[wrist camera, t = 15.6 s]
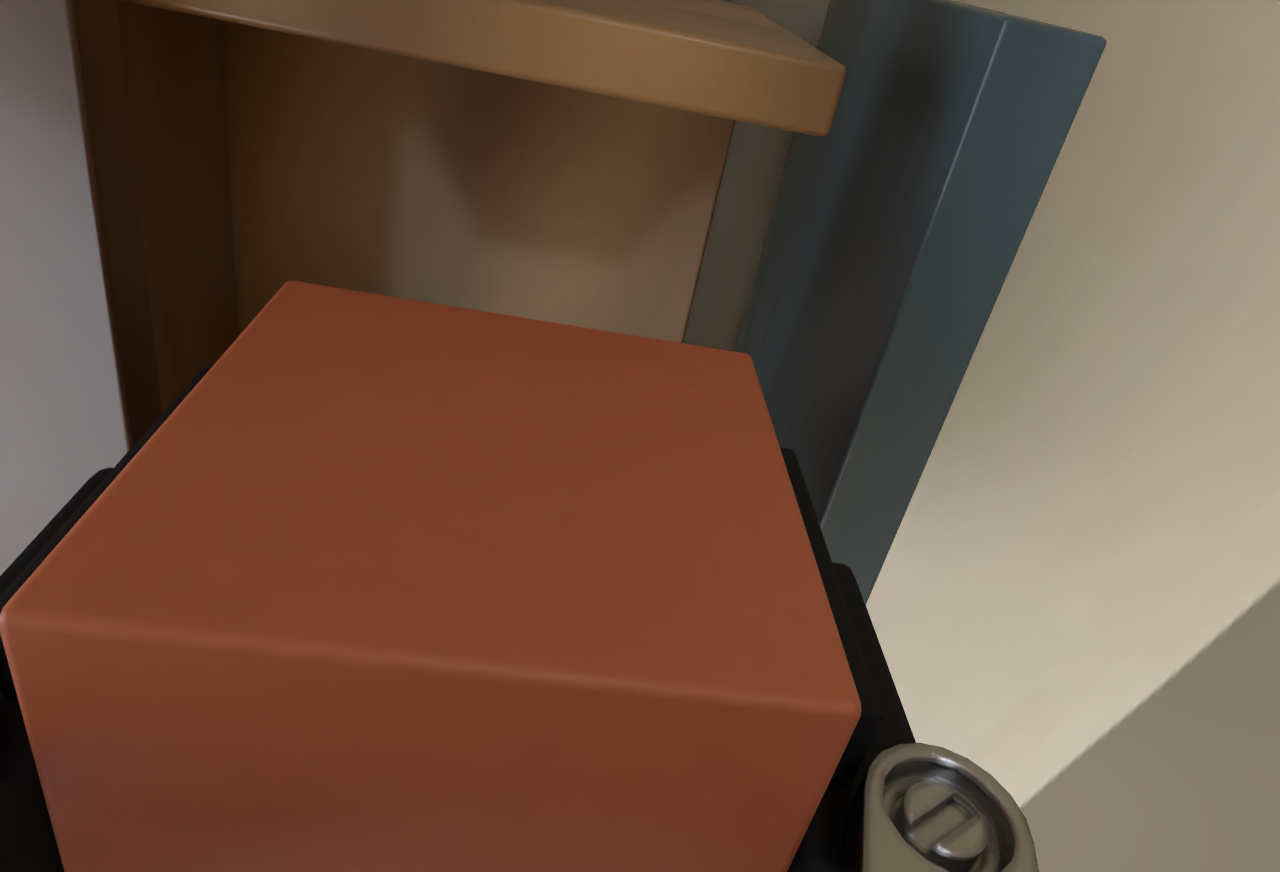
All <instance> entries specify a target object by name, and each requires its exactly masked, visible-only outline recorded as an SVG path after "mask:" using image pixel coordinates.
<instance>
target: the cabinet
mask: <svg viewBox="0 0 1280 872" xmlns="http://www.w3.org/2000/svg"><path fill="white" fill-rule="evenodd" d="M161 414H162V405H161V396H160V387H159V378H158V369H157V360H156V351H155V342H154V333H153V324H152V314H151V305H150V296H149V287H148V278H147V269H146V260H145V251H144V242H143V233H142V224H141V215H140V206H139V197H138V188H137V179H136V170H135V161H134V152H133V143H132V134H131V125H130V116H129V107H128V98H127V89H126V80H125V71H124V62H123V53H122V44H121V35H120V26H119V17H118V8H117V0H0V576H1V575H2V574H3V572H4V571H5V570H6V569H7V568H8V567H9V566H10V565H11V564H12V563H13V562H14V560H15V559H16V558H17V557H18V556H19V555H20V554H21V553H22V552H23V551H24V550H25V548H26V547H27V546H28V545H29V544H30V543H31V542H32V541H33V540H34V539H35V538H36V536H37V535H38V534H39V533H40V532H41V531H42V530H43V529H44V528H45V527H46V525H47V524H48V523H49V522H50V521H51V520H52V519H53V518H54V517H55V516H56V515H57V513H58V512H59V511H60V510H61V509H62V508H63V507H64V506H65V505H66V504H67V503H68V501H69V500H70V499H71V498H72V497H73V496H74V495H75V494H76V493H77V492H78V490H79V489H80V488H81V487H82V486H83V485H84V484H85V483H86V482H87V481H88V480H89V478H91V477H92V476H93V475H94V474H95V473H97V472H98V471H99V470H101V469H105V468H109V467H111V468H114V467H115V466H116V465H117V464H118V463H119V461H120V460H121V459H122V458H123V457H124V456H125V455H126V454H127V452H128V451H129V450H130V449H131V448H132V447H133V446H134V445H135V443H136V442H137V441H138V440H139V439H140V438H141V437H142V436H143V434H144V433H145V432H146V431H147V430H148V429H149V428H150V427H151V425H152V424H153V423H154V422H155V421H156V420H157V419H158V417H159V416H160V415H161Z"/></svg>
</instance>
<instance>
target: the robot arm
mask: <svg viewBox="0 0 1280 872" xmlns="http://www.w3.org/2000/svg"><path fill="white" fill-rule="evenodd" d="M213 365H214V364H207V365H206V366H204V367H203V368H202V369H201V370H200V371H199V372H198V374H197V375H196V376H195V377H194V378H193V379H192V380H191V381H190V383H189V384H188V385H187V386H186V387H185V388H184V389H183V390H182V392H181V393H180V394H179V395H178V396H177V397H176V398H175V399H174V401H173V402H172V403H171V404H170V405H169V406H168V407H167V408H166V410H165V411H164V412H163V413H162V414H161V415H160V416H159V417H158V419H157V420H156V421H155V422H154V423H153V424H152V425H151V427H150V428H149V429H148V430H147V431H146V432H145V433H144V434H143V436H142V437H141V438H140V439H139V440H138V441H137V442H136V443H135V445H134V446H133V447H132V448H131V449H130V450H129V451H128V452H127V454H126V455H125V456H124V457H123V458H122V459H121V460H120V461H119V463H118V464H117V465H116V466H115V467H114V468H111V467H109V468H105V469H101V470H99V471H98V472H97V473H95V474H94V475H93V476H92V477H91V478H89V480H88V481H87V482H86V483H85V484H84V485H83V486H82V487H81V488H80V489H79V490H78V492H77V493H76V494H75V495H74V496H73V497H72V498H71V499H70V500H69V501H68V503H67V504H66V505H65V506H64V507H63V508H62V509H61V510H60V511H59V512H58V513H57V515H56V516H55V517H54V518H53V519H52V520H51V521H50V522H49V523H48V524H47V525H46V527H45V528H44V529H43V530H42V531H41V532H40V533H39V534H38V535H37V536H36V538H35V539H34V540H33V541H32V542H31V543H30V544H29V545H28V546H27V547H26V548H25V550H24V551H23V552H22V553H21V554H20V555H19V556H18V557H17V558H16V559H15V560H14V562H13V563H12V564H11V565H10V566H9V567H8V568H7V569H6V570H5V571H4V572H3V574H2V575H1V576H0V614H1V611H2V608H3V607H4V606H5V604H6V603H7V602H8V601H9V600H10V599H11V598H12V596H13V595H14V594H15V593H16V592H17V591H18V589H19V588H20V587H21V586H22V585H23V584H24V583H25V581H26V580H27V579H28V578H29V577H30V576H31V575H32V573H33V572H34V571H35V570H36V569H37V568H38V566H39V565H40V564H41V563H42V562H43V561H44V560H45V558H46V557H47V556H48V555H49V554H50V553H51V552H52V550H53V549H54V548H55V547H56V546H57V545H58V544H59V542H60V541H61V540H62V539H63V538H64V537H65V535H66V534H67V533H68V532H69V531H70V530H71V529H72V527H73V526H74V525H75V524H76V523H77V522H78V521H79V519H80V518H81V517H82V516H83V515H84V514H85V512H86V511H87V510H88V509H89V508H90V507H91V506H92V504H93V503H94V502H95V501H96V500H97V499H98V498H99V496H100V495H101V494H102V493H103V492H104V491H105V489H106V488H107V487H108V486H109V485H110V484H111V483H112V481H113V480H114V479H115V478H116V477H117V476H118V475H119V473H120V472H121V471H122V470H123V469H124V468H125V466H126V465H127V464H128V463H129V462H130V461H131V460H132V458H133V457H134V456H135V455H136V454H137V453H138V452H139V450H140V449H141V448H142V447H143V446H144V445H145V443H146V442H147V441H148V440H149V439H150V438H151V437H152V435H153V434H154V433H155V432H156V431H157V430H158V429H159V427H160V426H161V425H162V424H163V423H164V422H165V420H166V419H167V418H168V417H169V416H170V415H171V414H172V412H173V411H174V410H175V409H176V408H177V407H178V406H179V404H180V403H181V402H182V401H183V400H184V399H185V397H186V396H187V395H188V394H189V393H190V392H191V391H192V389H193V388H194V387H195V386H196V385H197V384H198V383H199V381H200V380H201V379H202V378H203V377H204V376H205V375H206V373H207V372H208V371H209V370H210V369H211V368H212V366H213ZM780 450H781V453H782V456H783V459H784V462H785V465H786V468H787V472H788V475H789V478H790V481H791V484H792V487H793V491H794V494H795V497H796V500H797V503H798V506H799V509H800V513H801V516H802V519H803V522H804V525H805V528H806V532H807V535H808V538H809V541H810V544H811V547H812V550H813V554H814V557H815V560H816V563H817V566H818V569H819V573H820V576H821V579H822V582H823V585H824V588H825V591H826V595H827V598H828V601H829V604H830V607H831V610H832V614H833V617H834V620H835V623H836V626H837V629H838V632H839V636H840V639H841V642H842V645H843V648H844V651H845V655H846V658H847V661H848V664H849V667H850V670H851V673H852V677H853V680H854V683H855V686H856V689H857V692H858V696H859V699H860V702H861V715H860V719H859V721H858V723H857V725H856V727H855V729H854V731H853V733H852V736H851V738H850V740H849V742H848V744H847V746H846V748H845V750H844V752H843V755H842V757H841V759H840V761H839V763H838V765H837V767H836V769H835V772H834V774H833V776H832V778H831V780H830V782H829V784H828V786H827V788H826V791H825V793H824V795H823V797H822V799H821V801H820V803H819V805H818V808H817V810H816V812H815V814H814V816H813V818H812V820H811V822H810V824H809V827H808V829H807V831H806V833H805V835H804V837H803V839H802V841H801V844H800V846H799V848H798V850H797V852H796V854H795V856H794V858H793V860H792V863H791V865H790V867H789V869H788V871H787V872H1039V870H1038V864H1037V858H1036V852H1035V847H1034V841H1033V838H1032V836H1031V832H1030V829H1029V826H1028V824H1027V820H1026V818H1025V816H1024V815H1023V813H1022V812H1021V810H1020V809H1019V807H1018V805H1017V804H1016V802H1015V801H1014V799H1013V798H1012V796H1011V795H1010V794H1009V793H1008V792H1007V791H1006V790H1005V789H1004V788H1003V787H1002V786H1001V785H1000V784H999V782H998V781H997V780H996V779H995V778H994V777H993V776H992V775H991V774H989V773H988V772H986V771H985V770H983V769H982V768H981V767H979V766H978V765H976V764H975V763H973V762H972V761H971V760H969V759H968V758H965V757H963V756H961V755H959V754H956V753H954V752H952V751H950V750H947V749H945V748H942V747H937V746H933V745H928V744H923V743H916V742H915V739H914V737H913V734H912V731H911V728H910V726H909V723H908V720H907V717H906V715H905V712H904V709H903V706H902V704H901V701H900V698H899V696H898V693H897V690H896V687H895V685H894V682H893V679H892V676H891V674H890V671H889V668H888V666H887V663H886V660H885V657H884V655H883V652H882V649H881V646H880V644H879V641H878V638H877V635H876V633H875V630H874V627H873V625H872V622H871V619H870V616H869V614H868V611H867V608H866V605H865V603H864V600H863V597H862V595H861V592H860V589H859V586H858V584H857V581H856V578H855V576H854V574H853V572H852V570H851V569H850V567H848V566H847V565H845V564H841V563H834V562H832V560H831V557H830V554H829V551H828V548H827V545H826V542H825V540H824V537H823V534H822V531H821V528H820V525H819V522H818V519H817V516H816V513H815V510H814V507H813V504H812V501H811V498H810V495H809V492H808V489H807V486H806V484H805V481H804V478H803V475H802V472H801V469H800V466H799V463H798V460H797V457H796V454H795V452H794V451H793V450H792V449H787V448H780ZM0 872H64V868H63V864H62V861H61V857H60V853H59V849H58V846H57V842H56V838H55V835H54V831H53V827H52V823H51V820H50V816H49V812H48V809H47V805H46V801H45V797H44V794H43V790H42V786H41V783H40V779H39V775H38V771H37V768H36V764H35V760H34V757H33V753H32V749H31V745H30V742H29V738H28V734H27V731H26V727H25V723H24V719H23V716H22V712H21V708H20V705H19V701H18V697H17V693H16V690H15V686H14V682H13V679H12V675H11V671H10V667H9V664H8V660H7V656H6V653H5V649H4V645H3V641H2V638H1V634H0Z"/></svg>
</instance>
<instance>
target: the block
mask: <svg viewBox="0 0 1280 872" xmlns="http://www.w3.org/2000/svg"><path fill="white" fill-rule="evenodd" d="M0 634H1V638H2V641H3V645H4V649H5V653H6V656H7V660H8V664H9V667H10V671H11V675H12V679H13V682H14V686H15V690H16V693H17V697H18V701H19V705H20V708H21V712H22V716H23V719H24V723H25V727H26V731H27V734H28V738H29V742H30V745H31V749H32V753H33V757H34V760H35V764H36V768H37V771H38V775H39V779H40V783H41V786H42V790H43V794H44V797H45V801H46V805H47V809H48V812H49V816H50V820H51V823H52V827H53V831H54V835H55V838H56V842H57V846H58V849H59V853H60V857H61V861H62V864H63V868H64V872H787V871H788V869H789V867H790V865H791V863H792V860H793V858H794V856H795V854H796V852H797V850H798V848H799V846H800V844H801V841H802V839H803V837H804V835H805V833H806V831H807V829H808V827H809V824H810V822H811V820H812V818H813V816H814V814H815V812H816V810H817V808H818V805H819V803H820V801H821V799H822V797H823V795H824V793H825V791H826V788H827V786H828V784H829V782H830V780H831V778H832V776H833V774H834V772H835V769H836V767H837V765H838V763H839V761H840V759H841V757H842V755H843V752H844V750H845V748H846V746H847V744H848V742H849V740H850V738H851V736H852V733H853V731H854V729H855V727H856V725H857V723H858V721H859V719H860V715H861V702H860V699H859V696H858V692H857V689H856V686H855V683H854V680H853V677H852V673H851V670H850V667H849V664H848V661H847V658H846V655H845V651H844V648H843V645H842V642H841V639H840V636H839V632H838V629H837V626H836V623H835V620H834V617H833V614H832V610H831V607H830V604H829V601H828V598H827V595H826V591H825V588H824V585H823V582H822V579H821V576H820V573H819V569H818V566H817V563H816V560H815V557H814V554H813V550H812V547H811V544H810V541H809V538H808V535H807V532H806V528H805V525H804V522H803V519H802V516H801V513H800V509H799V506H798V503H797V500H796V497H795V494H794V491H793V487H792V484H791V481H790V478H789V475H788V472H787V468H786V465H785V462H784V459H783V456H782V453H781V450H780V446H779V443H778V440H777V437H776V434H775V431H774V428H773V424H772V421H771V418H770V415H769V412H768V409H767V405H766V402H765V399H764V396H763V393H762V390H761V387H760V383H759V380H758V377H757V374H756V371H755V368H754V364H753V361H752V358H751V356H749V355H748V354H746V353H741V352H735V351H729V350H722V349H716V348H710V347H704V346H697V345H691V344H685V343H679V342H672V341H666V340H660V339H654V338H648V337H641V336H635V335H629V334H623V333H616V332H610V331H604V330H598V329H591V328H585V327H579V326H573V325H567V324H560V323H554V322H548V321H542V320H535V319H529V318H523V317H517V316H511V315H504V314H498V313H492V312H486V311H479V310H473V309H467V308H461V307H454V306H448V305H442V304H436V303H430V302H423V301H417V300H411V299H405V298H398V297H392V296H386V295H380V294H373V293H367V292H361V291H355V290H349V289H342V288H336V287H330V286H324V285H317V284H311V283H305V282H299V281H288V282H286V283H285V284H284V285H283V286H282V287H281V288H280V289H279V291H278V292H277V293H276V294H275V295H274V296H273V297H272V299H271V300H270V301H269V302H268V303H267V304H266V306H265V307H264V308H263V309H262V310H261V311H260V312H259V314H258V315H257V316H256V317H255V318H254V319H253V320H252V322H251V323H250V324H249V325H248V326H247V327H246V329H245V330H244V331H243V332H242V333H241V334H240V335H239V337H238V338H237V339H236V340H235V341H234V342H233V343H232V345H231V346H230V347H229V348H228V349H227V350H226V352H225V353H224V354H223V355H222V356H221V357H220V358H219V360H218V361H217V362H216V363H215V364H214V365H213V366H212V368H211V369H210V370H209V371H208V372H207V373H206V375H205V376H204V377H203V378H202V379H201V380H200V381H199V383H198V384H197V385H196V386H195V387H194V388H193V389H192V391H191V392H190V393H189V394H188V395H187V396H186V397H185V399H184V400H183V401H182V402H181V403H180V404H179V406H178V407H177V408H176V409H175V410H174V411H173V412H172V414H171V415H170V416H169V417H168V418H167V419H166V420H165V422H164V423H163V424H162V425H161V426H160V427H159V429H158V430H157V431H156V432H155V433H154V434H153V435H152V437H151V438H150V439H149V440H148V441H147V442H146V443H145V445H144V446H143V447H142V448H141V449H140V450H139V452H138V453H137V454H136V455H135V456H134V457H133V458H132V460H131V461H130V462H129V463H128V464H127V465H126V466H125V468H124V469H123V470H122V471H121V472H120V473H119V475H118V476H117V477H116V478H115V479H114V480H113V481H112V483H111V484H110V485H109V486H108V487H107V488H106V489H105V491H104V492H103V493H102V494H101V495H100V496H99V498H98V499H97V500H96V501H95V502H94V503H93V504H92V506H91V507H90V508H89V509H88V510H87V511H86V512H85V514H84V515H83V516H82V517H81V518H80V519H79V521H78V522H77V523H76V524H75V525H74V526H73V527H72V529H71V530H70V531H69V532H68V533H67V534H66V535H65V537H64V538H63V539H62V540H61V541H60V542H59V544H58V545H57V546H56V547H55V548H54V549H53V550H52V552H51V553H50V554H49V555H48V556H47V557H46V558H45V560H44V561H43V562H42V563H41V564H40V565H39V566H38V568H37V569H36V570H35V571H34V572H33V573H32V575H31V576H30V577H29V578H28V579H27V580H26V581H25V583H24V584H23V585H22V586H21V587H20V588H19V589H18V591H17V592H16V593H15V594H14V595H13V596H12V598H11V599H10V600H9V601H8V602H7V603H6V604H5V606H4V607H3V608H2V611H1V614H0Z"/></svg>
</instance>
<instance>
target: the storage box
mask: <svg viewBox="0 0 1280 872" xmlns="http://www.w3.org/2000/svg"><path fill="white" fill-rule="evenodd" d="M117 8H118V17H119V26H120V35H121V44H122V53H123V62H124V71H125V80H126V89H127V98H128V107H129V116H130V125H131V134H132V143H133V152H134V161H135V170H136V179H137V188H138V197H139V206H140V215H141V224H142V233H143V242H144V251H145V260H146V269H147V278H148V287H149V296H150V305H151V314H152V324H153V333H154V342H155V351H156V360H157V369H158V378H159V387H160V396H161V405H162V413H163V412H164V411H165V410H166V408H167V407H168V406H169V405H170V404H171V403H172V402H173V401H174V399H175V398H176V397H177V396H178V395H179V394H180V393H181V392H182V390H183V389H184V388H185V387H186V386H187V385H188V384H189V383H190V381H191V380H192V379H193V378H194V377H195V376H196V375H197V374H198V372H199V371H200V370H201V369H202V368H203V367H204V366H206V365H207V364H215V363H216V362H217V361H218V360H219V358H220V357H221V356H222V355H223V354H224V353H225V352H226V350H227V349H228V348H229V347H230V346H231V345H232V343H233V342H234V341H235V340H236V339H237V338H238V337H239V335H240V334H241V333H242V332H243V331H244V330H245V329H246V327H247V326H248V325H249V324H250V323H251V322H252V320H253V319H254V318H255V317H256V316H257V315H258V314H259V312H260V311H261V310H262V309H263V308H264V307H265V306H266V304H267V303H268V302H269V301H270V300H271V299H272V297H273V296H274V295H275V294H276V293H277V292H278V291H279V289H280V288H281V287H282V286H283V285H284V284H285V283H286V282H288V281H299V282H305V283H311V284H317V285H324V286H330V287H336V288H342V289H349V290H355V291H361V292H367V293H373V294H380V295H386V296H392V297H398V298H405V299H411V300H417V301H423V302H430V303H436V304H442V305H448V306H454V307H461V308H467V309H473V310H479V311H486V312H492V313H498V314H504V315H511V316H517V317H523V318H529V319H535V320H542V321H548V322H554V323H560V324H567V325H573V326H579V327H585V328H591V329H598V330H604V331H610V332H616V333H623V334H629V335H635V336H641V337H648V338H654V339H660V340H666V341H672V342H679V343H683V341H684V337H685V333H686V329H687V324H688V320H689V316H690V312H691V307H692V303H693V299H694V295H695V290H696V286H697V282H698V278H699V273H700V269H701V265H702V261H703V256H704V252H705V248H706V244H707V239H708V235H709V231H710V227H711V222H712V218H713V214H714V210H715V205H716V201H717V197H718V193H719V188H720V184H721V180H722V176H723V171H724V167H725V163H726V159H727V154H728V150H729V146H730V142H731V137H732V133H733V129H734V125H735V121H740V122H745V123H750V124H755V125H761V126H766V127H771V128H776V129H781V130H786V131H791V132H795V133H794V137H793V141H792V144H791V148H790V152H789V155H788V159H787V163H786V166H785V170H784V174H783V177H782V181H781V185H780V188H779V192H778V196H777V200H776V203H775V207H774V211H773V214H772V218H771V222H770V225H769V229H768V233H767V236H766V240H765V244H764V247H763V251H762V255H761V259H760V262H759V266H758V270H757V273H756V277H755V281H754V284H753V288H752V292H751V295H750V299H749V303H748V306H747V310H746V314H745V318H744V321H743V325H742V329H741V332H740V336H739V340H738V343H737V347H736V351H735V352H741V353H746V354H748V355H749V356H751V358H752V361H753V364H754V368H755V371H756V374H757V377H758V380H759V383H760V387H761V390H762V393H763V396H764V399H765V402H766V405H767V409H768V412H769V415H770V418H771V421H772V424H773V428H774V431H775V434H776V437H777V440H778V443H779V446H780V448H787V449H792V450H793V451H794V452H795V454H796V457H797V460H798V463H799V466H800V469H801V472H802V475H803V478H804V481H805V484H806V486H807V489H808V492H809V495H810V498H811V501H812V504H813V507H814V510H815V513H816V516H817V519H818V522H819V525H820V528H821V531H822V534H823V537H824V540H825V542H826V545H827V548H828V551H829V554H830V557H831V560H832V562H834V563H841V564H845V565H847V566H848V567H850V569H851V570H852V572H853V574H854V576H855V578H856V581H857V584H858V586H859V589H860V592H861V595H862V597H863V600H864V603H865V605H866V603H867V600H868V598H869V596H870V593H871V591H872V589H873V586H874V584H875V582H876V579H877V577H878V575H879V572H880V570H881V568H882V565H883V563H884V561H885V558H886V556H887V554H888V551H889V549H890V547H891V544H892V542H893V540H894V537H895V535H896V533H897V530H898V528H899V526H900V523H901V521H902V519H903V516H904V514H905V512H906V509H907V507H908V505H909V502H910V500H911V498H912V495H913V493H914V491H915V488H916V486H917V484H918V481H919V479H920V477H921V474H922V472H923V470H924V467H925V465H926V463H927V461H928V458H929V456H930V454H931V451H932V449H933V447H934V444H935V442H936V440H937V437H938V435H939V433H940V430H941V428H942V426H943V423H944V421H945V419H946V416H947V414H948V412H949V409H950V407H951V405H952V402H953V400H954V398H955V395H956V393H957V391H958V388H959V386H960V384H961V381H962V379H963V377H964V374H965V372H966V370H967V367H968V365H969V363H970V360H971V358H972V356H973V353H974V351H975V349H976V346H977V344H978V342H979V339H980V337H981V335H982V332H983V330H984V328H985V325H986V323H987V321H988V318H989V316H990V314H991V311H992V309H993V307H994V304H995V302H996V300H997V297H998V295H999V293H1000V290H1001V288H1002V286H1003V283H1004V281H1005V279H1006V276H1007V274H1008V272H1009V269H1010V267H1011V265H1012V262H1013V260H1014V258H1015V255H1016V253H1017V251H1018V248H1019V246H1020V244H1021V241H1022V239H1023V237H1024V234H1025V232H1026V230H1027V227H1028V225H1029V223H1030V220H1031V218H1032V216H1033V213H1034V211H1035V209H1036V206H1037V204H1038V202H1039V199H1040V197H1041V195H1042V192H1043V190H1044V188H1045V185H1046V183H1047V181H1048V178H1049V176H1050V174H1051V171H1052V169H1053V167H1054V164H1055V162H1056V160H1057V157H1058V155H1059V153H1060V150H1061V148H1062V146H1063V143H1064V141H1065V139H1066V136H1067V134H1068V132H1069V129H1070V127H1071V125H1072V122H1073V120H1074V118H1075V115H1076V113H1077V111H1078V108H1079V106H1080V104H1081V101H1082V99H1083V97H1084V94H1085V92H1086V90H1087V87H1088V85H1089V83H1090V80H1091V78H1092V76H1093V73H1094V71H1095V69H1096V66H1097V64H1098V62H1099V59H1100V57H1101V55H1102V52H1103V50H1104V48H1105V45H1106V40H1105V39H1104V38H1103V37H1102V36H1097V35H1093V34H1089V33H1085V32H1081V31H1077V30H1072V29H1068V28H1064V27H1060V26H1056V25H1052V24H1048V23H1043V22H1039V21H1035V20H1031V19H1027V18H1023V17H1018V16H1014V15H1010V14H1006V13H1002V12H998V11H993V10H989V9H985V8H981V7H977V6H973V5H969V4H964V3H960V2H956V1H952V0H830V4H829V8H828V12H827V15H826V19H825V23H824V26H823V30H822V34H821V37H820V41H819V45H818V48H815V47H813V46H812V45H810V44H809V43H807V42H806V41H804V40H802V39H801V38H799V37H798V36H796V35H794V34H793V33H791V32H790V31H788V30H786V29H785V28H783V27H782V26H780V25H779V24H777V23H775V22H774V21H772V20H771V19H769V18H767V17H766V16H764V15H763V14H761V13H760V12H759V11H757V10H756V9H754V8H752V7H748V6H744V5H739V4H734V3H730V2H725V1H720V0H117Z"/></svg>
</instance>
